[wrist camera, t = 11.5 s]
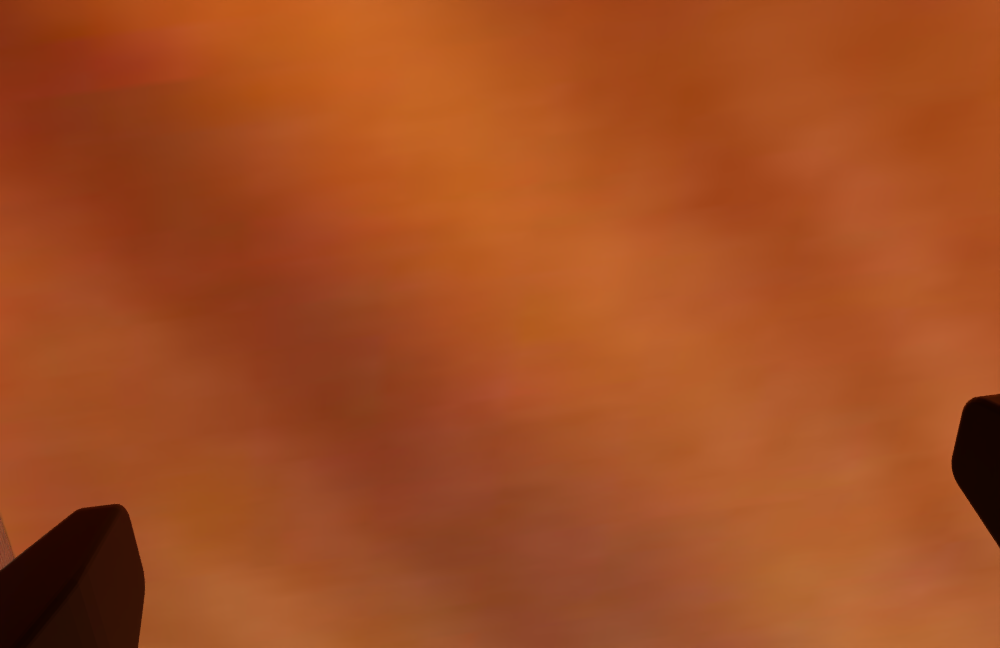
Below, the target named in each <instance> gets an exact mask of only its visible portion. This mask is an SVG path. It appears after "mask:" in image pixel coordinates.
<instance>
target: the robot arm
mask: <svg viewBox="0 0 1000 648" xmlns="http://www.w3.org/2000/svg"><path fill="white" fill-rule="evenodd" d="M952 471H953V475H954V478H955V480H956V482H957V484H958V485H959V487H960V488H961V490H962V491H963V493H964V494H965V496H966V498H967V499H968V501H969V502H970V504H971V505H972V507H973V508H974V510H975V511H976V513H977V514H978V516H979V517H980V519H981V520H982V522H983V523H984V525H985V526H986V528H987V529H988V531H989V532H990V534H991V535H992V537H993V538H994V540H995V541H996V543H997V544H998V546H999V548H1000V394H996V395H988V396H980V397H975V398H972V399H971V400H969V401H968V402H967V403H966V405H965V406H964V408H963V411H962V415H961V420H960V424H959V429H958V433H957V437H956V442H955V446H954V451H953V455H952ZM144 595H145V579H144V571H143V567H142V563H141V559H140V555H139V551H138V547H137V544H136V540H135V536H134V532H133V528H132V524H131V521H130V517H129V514H128V512H127V510H126V509H125V508H124V507H123V506H122V505H120V504H111V505H103V506H95V507H87V508H81V509H78V510H76V511H75V512H73V513H72V514H71V515H69V516H68V517H67V518H66V519H64V520H63V521H62V522H61V523H59V524H58V525H57V526H56V527H54V528H53V529H52V530H50V531H49V532H48V533H47V534H45V535H44V536H43V537H42V538H40V539H39V540H38V541H37V542H35V543H34V544H33V545H31V546H30V547H29V548H28V549H26V550H25V551H24V552H23V553H21V554H20V555H19V556H18V557H16V558H15V559H14V560H12V561H11V562H10V563H9V564H7V565H6V566H5V567H4V568H2V569H1V570H0V648H138V643H139V635H140V627H141V619H142V611H143V604H144Z"/></svg>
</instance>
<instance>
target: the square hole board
mask: <svg viewBox="0 0 1000 648" xmlns="http://www.w3.org/2000/svg"><path fill="white" fill-rule="evenodd" d="M12 560H14V557H13V554H12V551H11V548H10V545H9V542H8V539H7V536H6V534H5V531H4V528H3V525H2V522H1V519H0V570H1V569H2V568H4V567H5V566H6V565H7V564H9V563H10V562H11V561H12Z"/></svg>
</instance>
